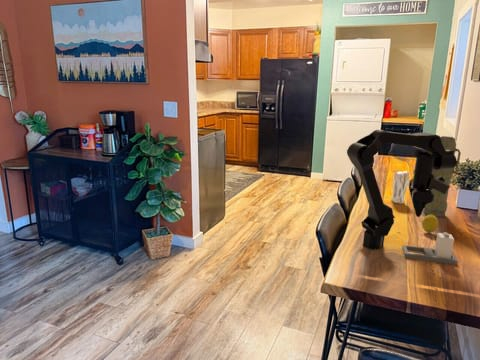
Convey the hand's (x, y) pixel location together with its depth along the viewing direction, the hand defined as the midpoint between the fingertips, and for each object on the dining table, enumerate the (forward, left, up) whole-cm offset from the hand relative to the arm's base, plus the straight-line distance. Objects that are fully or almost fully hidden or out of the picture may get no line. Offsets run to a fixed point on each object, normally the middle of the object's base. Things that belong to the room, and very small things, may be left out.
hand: (416, 212), depth 126 cm
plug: (0, -13, -12) cm, 17 cm away
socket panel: (-4, -10, -12) cm, 16 cm away
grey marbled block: (+33, +39, -13) cm, 53 cm away
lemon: (+14, +5, -13) cm, 20 cm away
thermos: (+35, +20, -13) cm, 43 cm away
